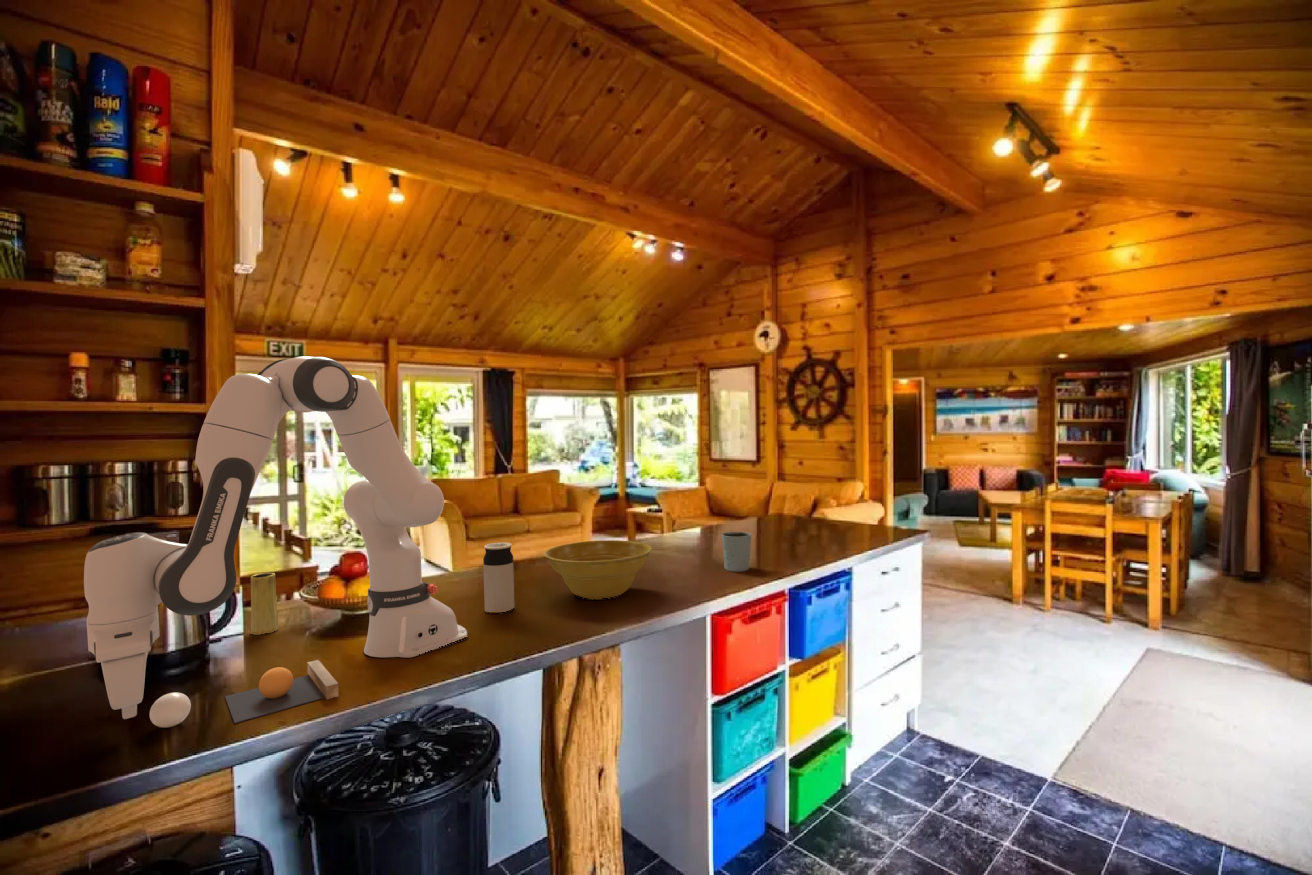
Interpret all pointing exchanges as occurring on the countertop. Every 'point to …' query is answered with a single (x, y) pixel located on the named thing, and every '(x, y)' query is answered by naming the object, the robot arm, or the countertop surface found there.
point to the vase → (263, 604)
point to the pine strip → (323, 679)
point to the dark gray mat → (272, 700)
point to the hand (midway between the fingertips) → (129, 714)
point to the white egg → (170, 710)
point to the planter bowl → (598, 566)
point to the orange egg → (276, 682)
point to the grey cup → (736, 551)
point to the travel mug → (498, 577)
